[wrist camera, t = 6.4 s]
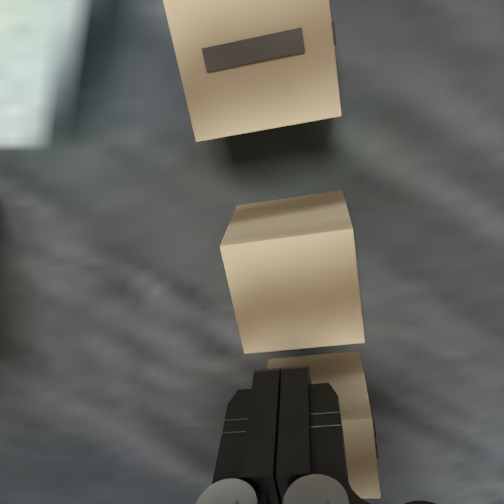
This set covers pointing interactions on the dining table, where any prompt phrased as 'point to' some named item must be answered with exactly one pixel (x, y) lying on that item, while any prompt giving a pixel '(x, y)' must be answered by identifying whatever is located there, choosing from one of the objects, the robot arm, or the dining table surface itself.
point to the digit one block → (254, 63)
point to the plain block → (293, 273)
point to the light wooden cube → (347, 413)
